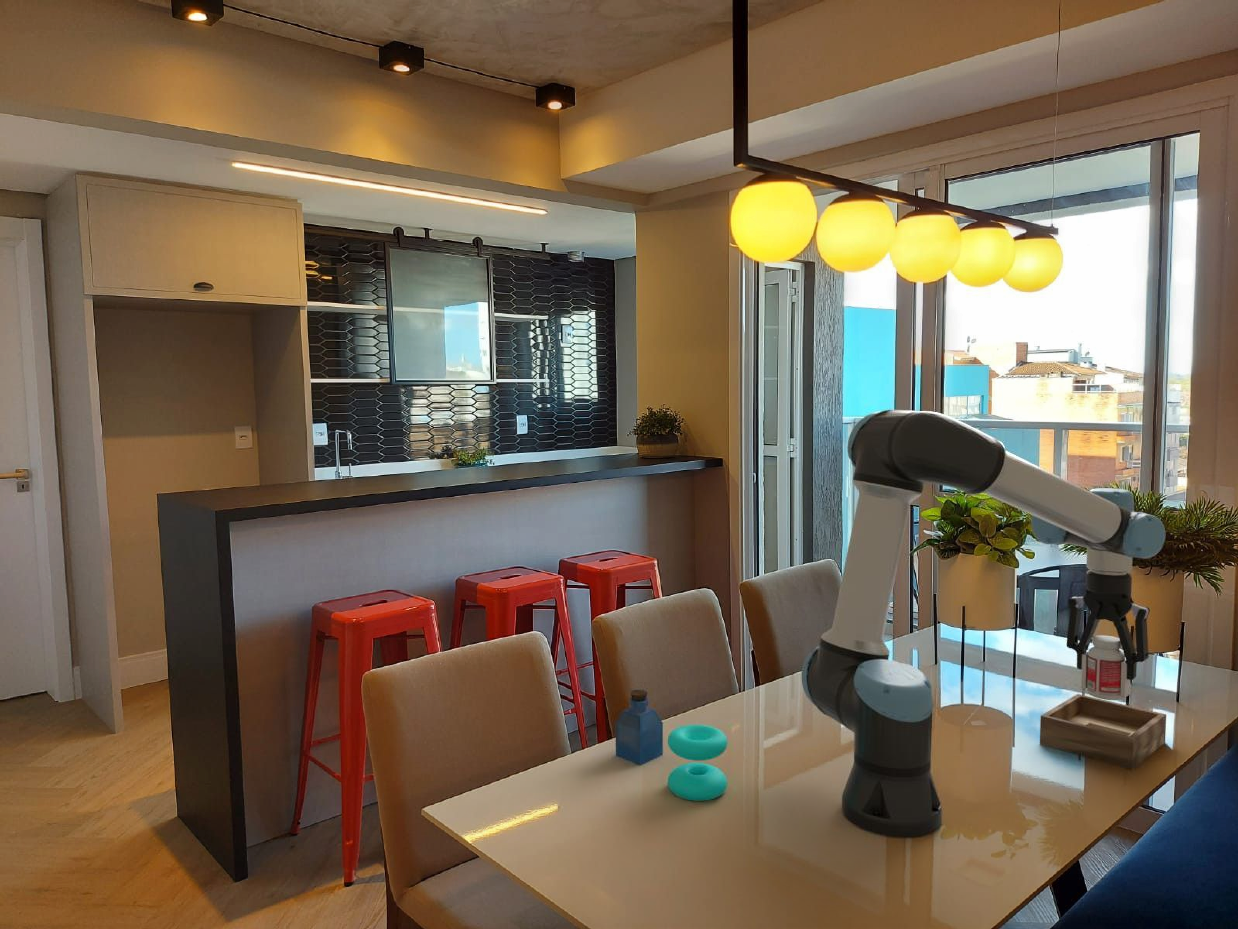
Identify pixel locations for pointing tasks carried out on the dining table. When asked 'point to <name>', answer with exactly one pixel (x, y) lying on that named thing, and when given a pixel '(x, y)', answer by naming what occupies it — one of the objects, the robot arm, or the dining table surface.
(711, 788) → the donuts
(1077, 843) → the dining table surface
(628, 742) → the perfume bottle
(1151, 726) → the wooden box
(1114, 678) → the pill bottle
